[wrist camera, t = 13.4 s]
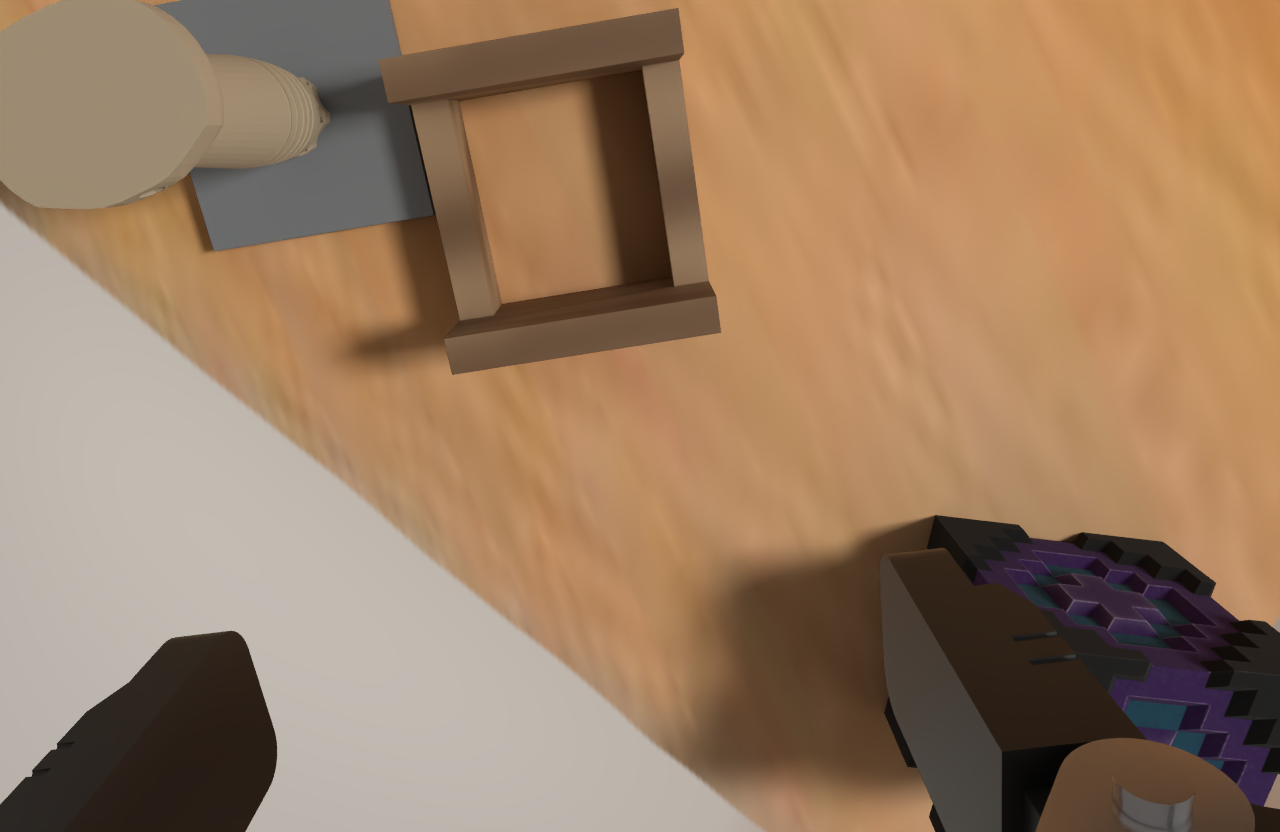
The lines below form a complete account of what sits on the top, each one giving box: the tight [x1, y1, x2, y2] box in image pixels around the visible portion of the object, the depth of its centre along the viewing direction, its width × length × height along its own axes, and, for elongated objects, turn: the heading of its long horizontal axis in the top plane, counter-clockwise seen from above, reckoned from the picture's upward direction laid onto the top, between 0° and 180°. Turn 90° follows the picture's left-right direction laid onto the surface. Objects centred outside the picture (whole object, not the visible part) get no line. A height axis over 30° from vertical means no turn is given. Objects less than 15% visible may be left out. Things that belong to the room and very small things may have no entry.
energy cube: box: [885, 515, 1280, 832], centre depth 41 cm, size 12×12×12 cm
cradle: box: [378, 8, 721, 375], centre depth 36 cm, size 12×11×6 cm
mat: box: [154, 0, 436, 251], centre depth 38 cm, size 10×10×1 cm
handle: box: [0, 0, 330, 209], centre depth 30 cm, size 5×6×15 cm
